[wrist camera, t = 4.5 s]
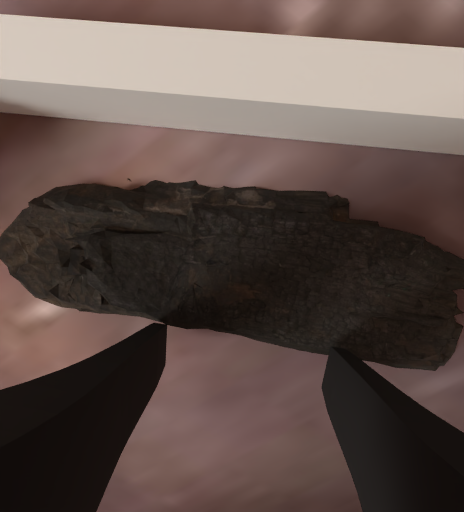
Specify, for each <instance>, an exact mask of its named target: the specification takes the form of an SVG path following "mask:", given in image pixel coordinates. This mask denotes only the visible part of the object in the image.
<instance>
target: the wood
mask: <svg viewBox="0 0 464 512" xmlns="http://www.w3.org/2000/svg"><path fill="white" fill-rule="evenodd" d="M128 180H130V179H128ZM130 181H131V180H130ZM28 203H29V207H28V208H27V209H24V210H22V212H21V213H20V214H19V215H18V217H17V218H16V219H15V220H14V222H13V223H12V224H11V225H10V226H9V227H8V228H7V229H6V230H5V231H4V232H3V233H2V235H1V237H0V259H1V260H2V261H3V262H4V263H5V265H6V266H7V267H8V270H9V273H10V275H12V276H13V277H14V278H16V279H17V280H19V281H20V282H21V284H22V285H23V286H24V287H25V288H26V289H27V290H28V291H29V292H30V293H31V294H32V295H33V296H34V297H36V298H39V299H41V300H44V301H46V302H49V303H51V304H54V305H57V306H60V307H65V308H75V309H78V310H79V311H87V312H94V313H105V314H120V315H129V316H140V317H144V318H148V319H152V320H155V321H159V322H163V323H164V324H166V325H170V326H175V327H180V328H185V329H211V330H214V331H218V332H225V333H231V334H236V335H242V336H245V337H248V338H251V339H254V340H258V341H262V342H266V343H271V344H275V345H279V346H283V347H287V348H292V349H296V350H301V351H307V352H311V353H318V354H324V355H329V352H330V347H338V348H345V349H347V350H348V351H350V352H351V353H353V354H354V355H355V356H357V357H358V358H359V359H360V360H364V361H370V362H376V363H380V364H384V365H388V366H392V367H396V368H410V369H423V370H432V371H436V370H437V368H438V367H439V366H444V365H445V364H446V362H447V361H448V360H449V359H450V358H451V356H452V354H453V353H454V351H455V348H456V345H457V341H458V338H459V336H460V333H461V331H462V328H463V326H462V325H460V324H458V323H456V320H455V318H454V315H457V314H461V313H464V312H462V311H461V310H459V309H458V308H457V295H456V294H455V293H454V292H453V291H452V290H457V289H464V260H463V259H461V258H459V257H457V256H455V255H453V254H451V253H449V252H444V251H443V250H442V249H440V248H439V247H438V246H435V245H432V244H431V243H429V242H427V241H426V240H425V237H421V236H418V235H414V234H411V233H407V232H403V231H398V230H394V229H389V228H383V227H379V224H378V222H373V221H363V220H352V219H349V213H348V209H349V202H348V200H347V199H346V198H341V197H340V196H338V195H336V196H333V197H328V195H327V192H323V191H274V190H266V189H256V187H243V188H229V187H225V186H223V187H222V188H212V187H207V186H203V185H199V184H198V183H197V182H196V180H195V181H189V182H183V183H170V182H169V183H164V182H161V181H158V180H154V181H152V182H150V183H148V184H147V185H145V186H140V187H139V188H137V189H133V190H130V191H129V190H124V189H120V188H118V187H111V186H105V185H99V184H78V185H71V186H62V187H56V188H54V189H52V190H50V191H49V192H47V193H45V194H43V195H42V196H40V197H38V198H34V199H33V200H31V201H30V202H28Z"/></svg>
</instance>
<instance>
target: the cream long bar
mask: <svg viewBox="0 0 464 512" xmlns="http://www.w3.org/2000/svg"><path fill="white" fill-rule="evenodd" d="M0 112H4V113H15V114H25V115H36V116H47V117H57V118H68V119H79V120H90V121H100V122H111V123H122V124H133V125H143V126H154V127H165V128H176V129H186V130H197V131H208V132H219V133H229V134H240V135H251V136H262V137H272V138H283V139H294V140H305V141H315V142H326V143H337V144H348V145H358V146H369V147H380V148H391V149H401V150H412V151H423V152H434V153H444V154H455V155H464V48H458V47H444V46H430V45H417V44H403V43H389V42H375V41H362V40H348V39H334V38H320V37H307V36H293V35H279V34H265V33H252V32H238V31H224V30H210V29H197V28H183V27H169V26H155V25H142V24H128V23H114V22H101V21H87V20H73V19H59V18H46V17H32V16H18V15H4V14H0Z"/></svg>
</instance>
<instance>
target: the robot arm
mask: <svg viewBox="0 0 464 512" xmlns="http://www.w3.org/2000/svg"><path fill="white" fill-rule="evenodd" d="M166 338H167V325H166V324H158V323H153V324H150V325H149V326H147V327H145V328H143V329H141V330H140V331H138V332H136V333H135V334H133V335H131V336H129V337H128V338H126V339H124V340H122V341H120V342H119V343H117V344H115V345H113V346H111V347H109V348H107V349H105V350H103V351H101V352H99V353H97V354H95V355H94V356H91V357H89V358H87V359H85V360H83V361H80V362H78V363H76V364H73V365H71V366H69V367H66V368H64V369H61V370H59V371H56V372H53V373H50V374H48V375H45V376H42V377H39V378H36V379H33V380H31V381H28V382H25V383H22V384H19V385H15V386H12V387H9V388H5V389H2V390H0V512H96V511H97V509H98V506H99V504H100V502H101V499H102V497H103V495H104V492H105V490H106V487H107V485H108V483H109V480H110V478H111V476H112V474H113V471H114V469H115V467H116V464H117V462H118V460H119V458H120V455H121V453H122V451H123V449H124V447H125V445H126V443H127V441H128V439H129V437H130V435H131V434H132V432H133V430H134V428H135V426H136V424H137V422H138V421H139V419H140V417H141V415H142V413H143V411H144V410H145V408H146V406H147V404H148V402H149V400H150V398H151V397H152V395H153V393H154V391H155V389H156V387H157V385H158V382H159V380H160V377H161V375H162V372H163V369H164V367H165V361H166ZM322 391H323V395H324V400H325V404H326V407H327V411H328V414H329V417H330V420H331V422H332V425H333V428H334V430H335V433H336V436H337V438H338V441H339V444H340V446H341V449H342V451H343V454H344V457H345V459H346V462H347V465H348V467H349V470H350V473H351V475H352V478H353V481H354V484H355V487H356V490H357V493H358V496H359V500H360V503H361V507H362V510H363V512H464V433H463V432H462V431H460V430H458V429H457V428H455V427H453V426H452V425H450V424H449V423H447V422H446V421H444V420H443V419H441V418H439V417H438V416H436V415H435V414H433V413H432V412H430V411H429V410H427V409H426V408H424V407H423V406H421V405H420V404H418V403H417V402H416V401H414V400H413V399H411V398H410V397H409V396H407V395H406V394H405V393H403V392H402V391H400V390H399V389H398V388H396V387H395V386H394V385H392V384H391V383H390V382H388V381H387V380H386V379H385V378H383V377H382V376H381V375H379V374H378V373H377V372H376V371H374V370H373V369H372V368H371V367H369V366H368V365H367V364H366V363H364V362H363V361H362V360H360V359H359V358H358V357H357V356H355V355H354V354H353V353H351V352H350V351H348V350H347V349H345V348H338V347H330V352H329V356H328V361H327V365H326V369H325V374H324V378H323V383H322Z"/></svg>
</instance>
